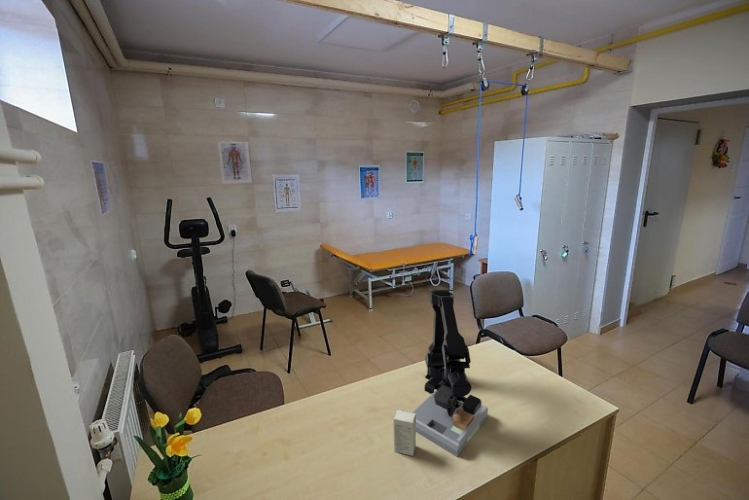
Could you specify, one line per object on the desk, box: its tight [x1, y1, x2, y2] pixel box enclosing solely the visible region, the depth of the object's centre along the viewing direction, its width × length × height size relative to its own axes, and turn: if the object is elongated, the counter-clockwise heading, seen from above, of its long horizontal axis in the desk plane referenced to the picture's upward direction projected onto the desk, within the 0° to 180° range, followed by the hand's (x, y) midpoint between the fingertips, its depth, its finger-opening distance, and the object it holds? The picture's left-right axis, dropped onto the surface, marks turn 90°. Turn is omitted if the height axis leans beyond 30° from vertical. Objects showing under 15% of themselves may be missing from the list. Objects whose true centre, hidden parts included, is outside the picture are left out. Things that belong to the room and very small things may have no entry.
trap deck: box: [411, 389, 489, 457], centre depth 119 cm, size 20×22×5 cm
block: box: [453, 407, 474, 431], centre depth 115 cm, size 5×5×4 cm
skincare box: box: [392, 409, 417, 457], centre depth 107 cm, size 6×4×12 cm
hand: (450, 415), depth 118 cm, fingers closed
